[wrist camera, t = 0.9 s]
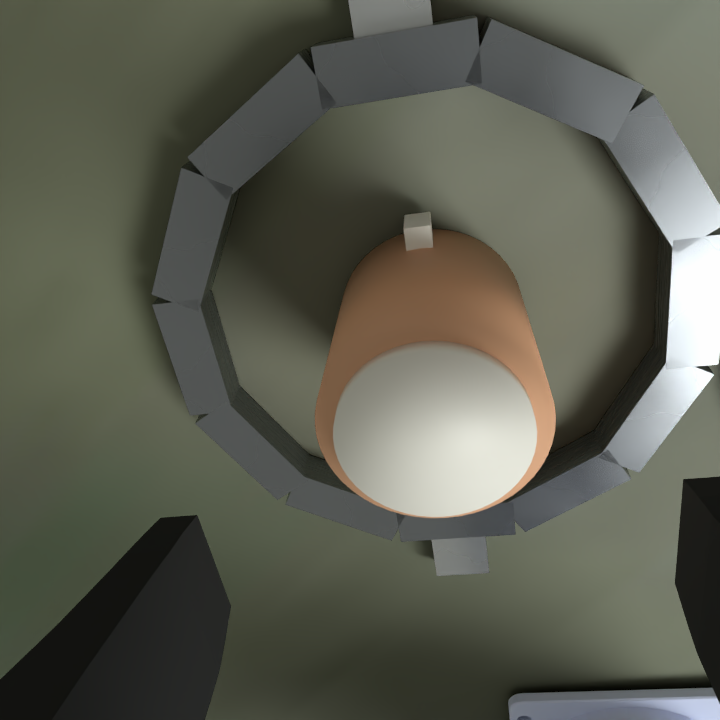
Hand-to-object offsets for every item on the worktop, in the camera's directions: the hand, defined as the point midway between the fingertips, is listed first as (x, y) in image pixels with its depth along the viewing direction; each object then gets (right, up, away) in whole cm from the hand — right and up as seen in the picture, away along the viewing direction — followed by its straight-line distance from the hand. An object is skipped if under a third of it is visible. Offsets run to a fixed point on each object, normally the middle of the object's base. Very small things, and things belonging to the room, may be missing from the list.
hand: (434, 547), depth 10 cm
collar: (+1, +4, +7) cm, 8 cm away
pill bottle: (+1, +4, +7) cm, 8 cm away
